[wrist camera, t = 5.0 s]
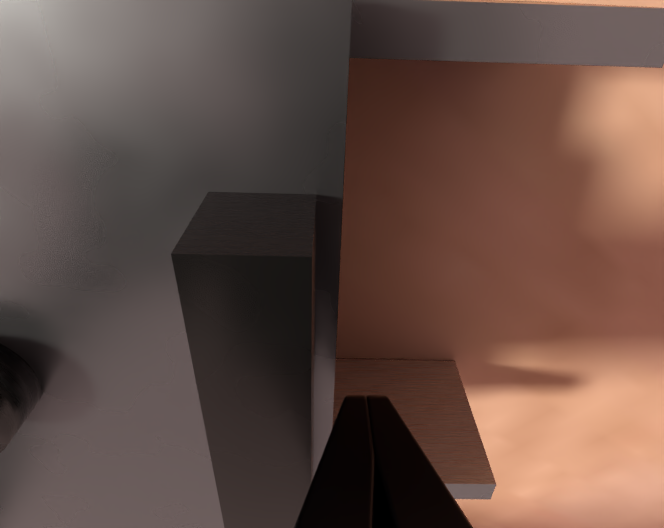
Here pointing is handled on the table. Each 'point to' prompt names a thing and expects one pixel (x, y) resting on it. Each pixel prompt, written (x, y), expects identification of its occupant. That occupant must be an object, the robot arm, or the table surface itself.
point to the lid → (168, 258)
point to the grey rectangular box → (478, 46)
